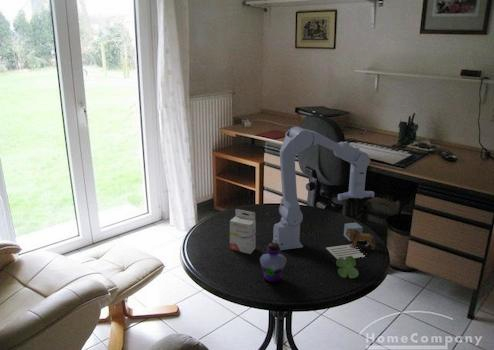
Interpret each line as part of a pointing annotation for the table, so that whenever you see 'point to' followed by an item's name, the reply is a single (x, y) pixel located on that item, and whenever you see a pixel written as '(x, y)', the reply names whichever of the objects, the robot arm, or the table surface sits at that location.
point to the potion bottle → (273, 263)
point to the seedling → (347, 267)
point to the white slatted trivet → (345, 251)
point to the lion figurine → (359, 237)
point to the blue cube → (352, 225)
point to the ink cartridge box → (243, 231)
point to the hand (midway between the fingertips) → (354, 215)
